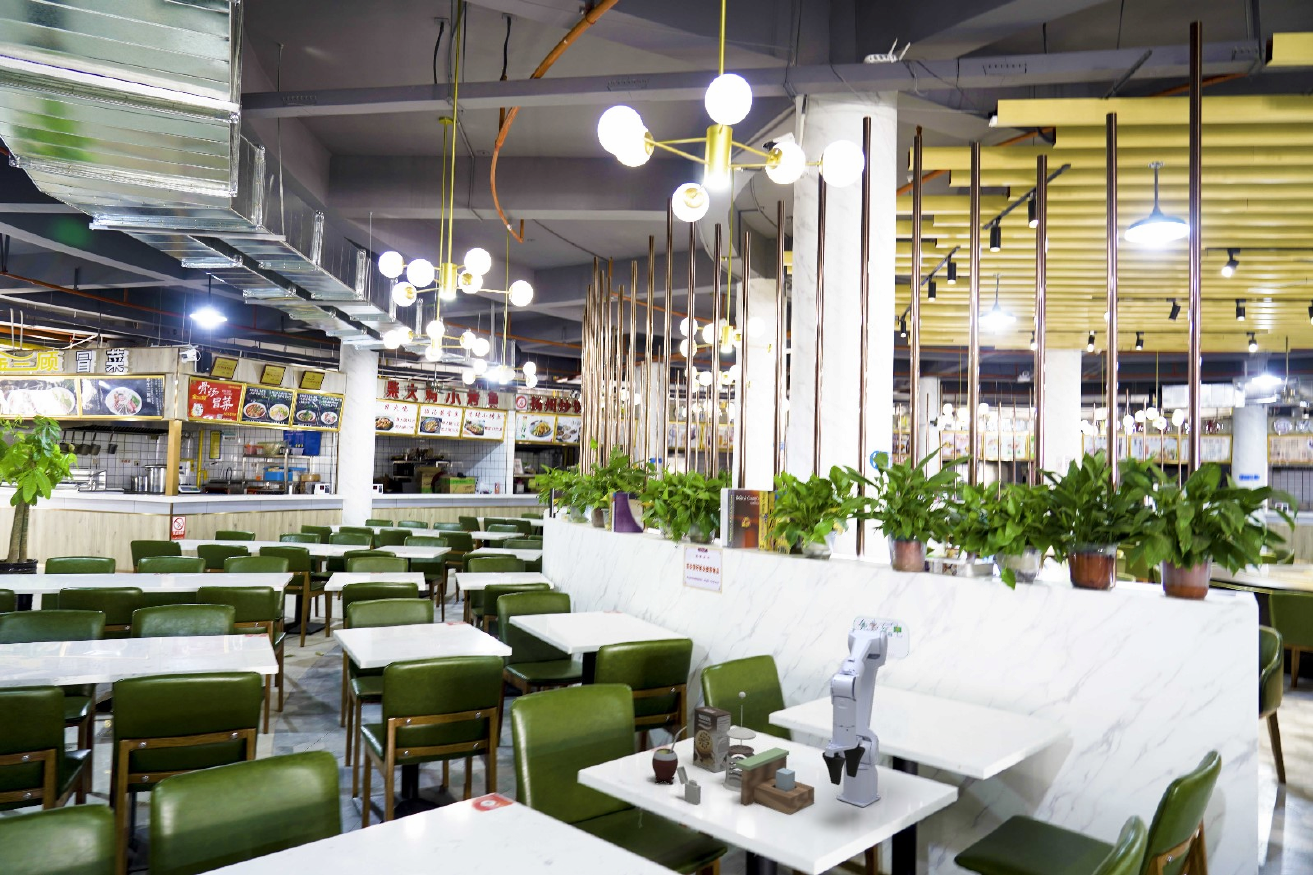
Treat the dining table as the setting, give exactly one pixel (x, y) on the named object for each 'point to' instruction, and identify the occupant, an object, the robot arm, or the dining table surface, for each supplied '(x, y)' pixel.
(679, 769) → the lighter
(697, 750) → the coffee box
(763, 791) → the socket holder
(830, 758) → the robot arm
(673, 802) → the dining table surface
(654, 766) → the mate gourd
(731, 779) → the french press
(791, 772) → the peg
